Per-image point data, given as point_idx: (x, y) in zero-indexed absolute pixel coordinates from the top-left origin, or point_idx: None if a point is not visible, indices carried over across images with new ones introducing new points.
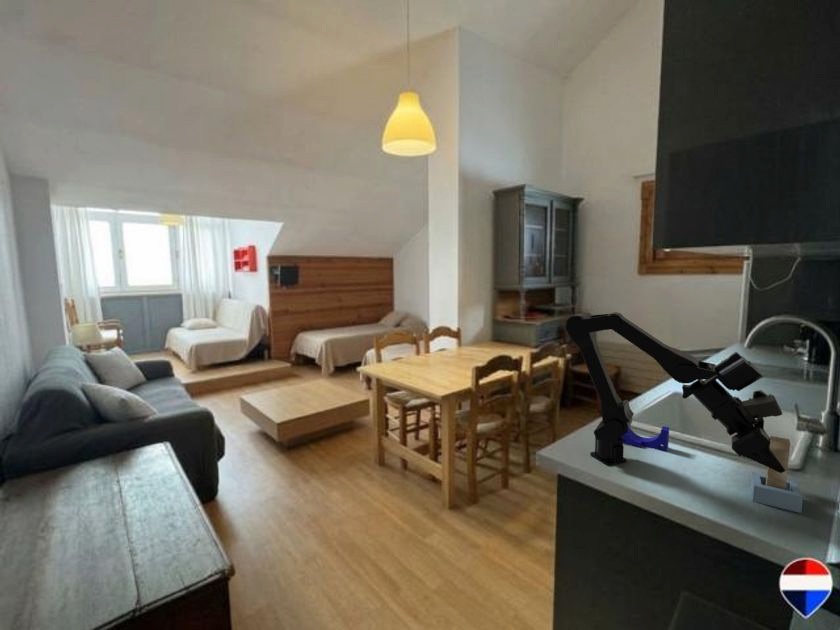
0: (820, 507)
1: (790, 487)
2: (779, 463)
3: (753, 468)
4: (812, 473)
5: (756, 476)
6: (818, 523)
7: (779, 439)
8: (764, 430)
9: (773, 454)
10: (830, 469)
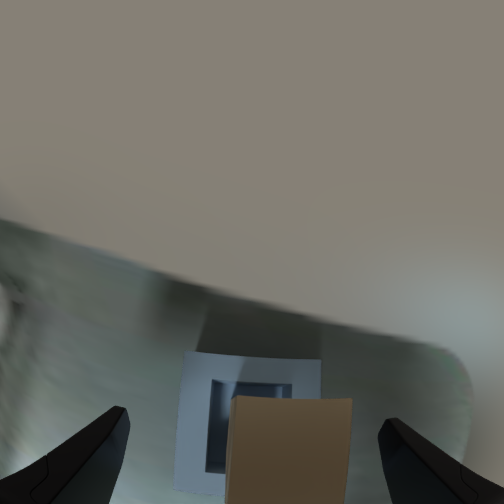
0: (231, 310)
1: (229, 381)
2: (430, 444)
3: (40, 418)
4: (26, 266)
5: (214, 483)
6: (338, 336)
7: (304, 484)
8: (14, 486)
9: (467, 475)
10: (7, 223)
